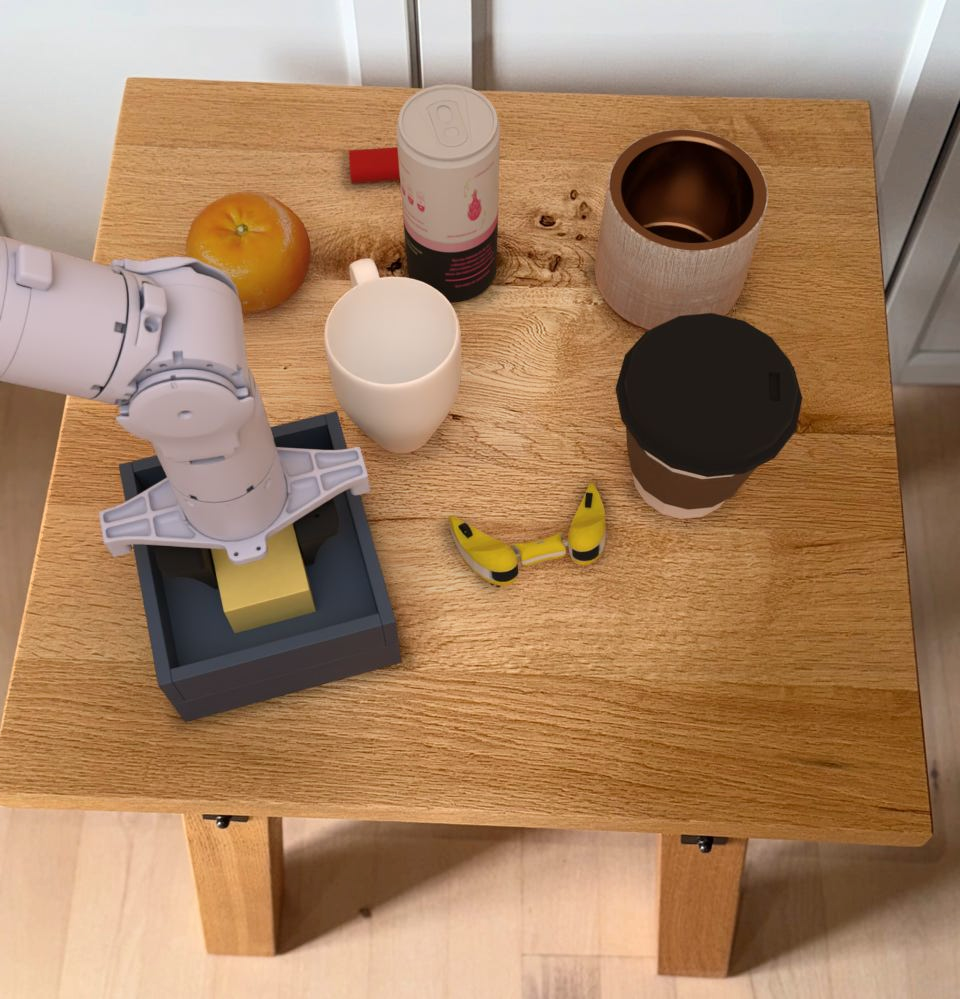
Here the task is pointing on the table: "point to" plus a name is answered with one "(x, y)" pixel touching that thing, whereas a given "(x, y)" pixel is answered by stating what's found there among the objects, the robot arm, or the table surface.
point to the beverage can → (450, 189)
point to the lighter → (374, 165)
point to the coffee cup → (704, 410)
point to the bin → (282, 645)
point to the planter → (678, 226)
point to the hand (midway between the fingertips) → (260, 562)
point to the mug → (393, 357)
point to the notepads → (265, 584)
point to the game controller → (533, 544)
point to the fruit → (253, 247)
